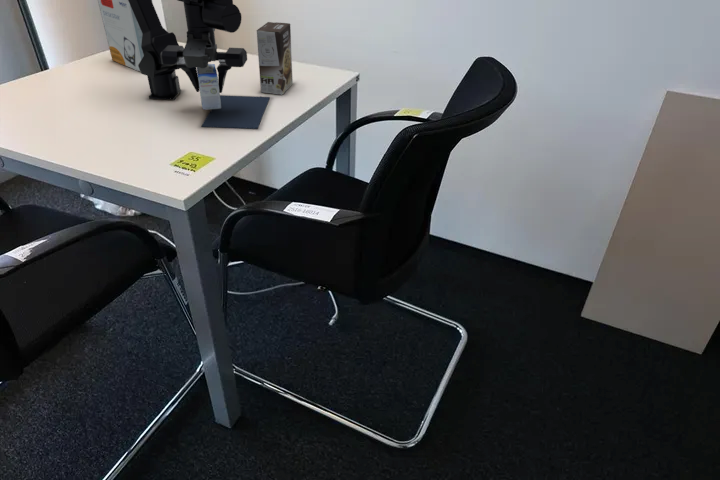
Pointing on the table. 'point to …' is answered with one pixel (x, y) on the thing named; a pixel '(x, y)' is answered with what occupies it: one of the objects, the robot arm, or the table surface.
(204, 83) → the medicine box
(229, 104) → the mat
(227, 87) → the table surface
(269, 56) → the coffee box
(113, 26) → the hard drive box
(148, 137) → the table surface
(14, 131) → the table surface
